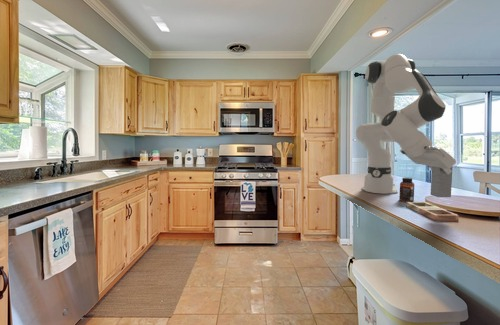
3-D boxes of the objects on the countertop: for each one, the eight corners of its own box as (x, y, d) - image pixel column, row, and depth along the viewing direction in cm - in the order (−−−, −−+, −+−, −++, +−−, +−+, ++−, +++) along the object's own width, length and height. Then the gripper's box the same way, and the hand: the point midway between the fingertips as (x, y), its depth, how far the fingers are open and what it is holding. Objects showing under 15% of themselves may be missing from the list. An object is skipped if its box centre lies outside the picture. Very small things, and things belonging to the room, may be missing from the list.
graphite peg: (430, 194, 98) (432, 161, 97) (442, 194, 98) (444, 161, 97) (438, 197, 94) (440, 162, 93) (450, 197, 94) (452, 162, 92)
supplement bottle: (416, 202, 118) (417, 179, 117) (402, 202, 119) (403, 179, 118) (410, 199, 124) (411, 177, 123) (397, 199, 125) (398, 177, 124)
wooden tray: (406, 206, 112) (406, 202, 112) (425, 206, 112) (425, 202, 111) (435, 220, 93) (435, 215, 93) (458, 220, 93) (458, 215, 92)
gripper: (443, 140, 84) (472, 169, 84) (409, 140, 104) (432, 163, 105) (429, 154, 85) (457, 182, 85) (397, 151, 105) (420, 173, 105)
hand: (443, 171), depth 95 cm, fingers closed on graphite peg, 4 cm apart
